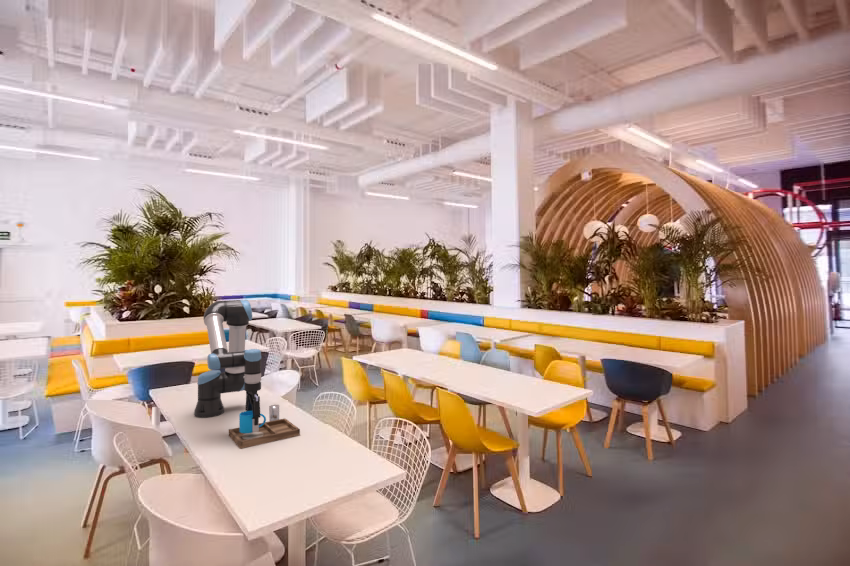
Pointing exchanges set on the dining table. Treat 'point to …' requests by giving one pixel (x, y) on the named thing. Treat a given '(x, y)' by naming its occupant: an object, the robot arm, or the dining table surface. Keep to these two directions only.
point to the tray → (265, 433)
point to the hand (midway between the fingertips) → (252, 428)
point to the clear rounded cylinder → (273, 412)
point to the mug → (247, 421)
